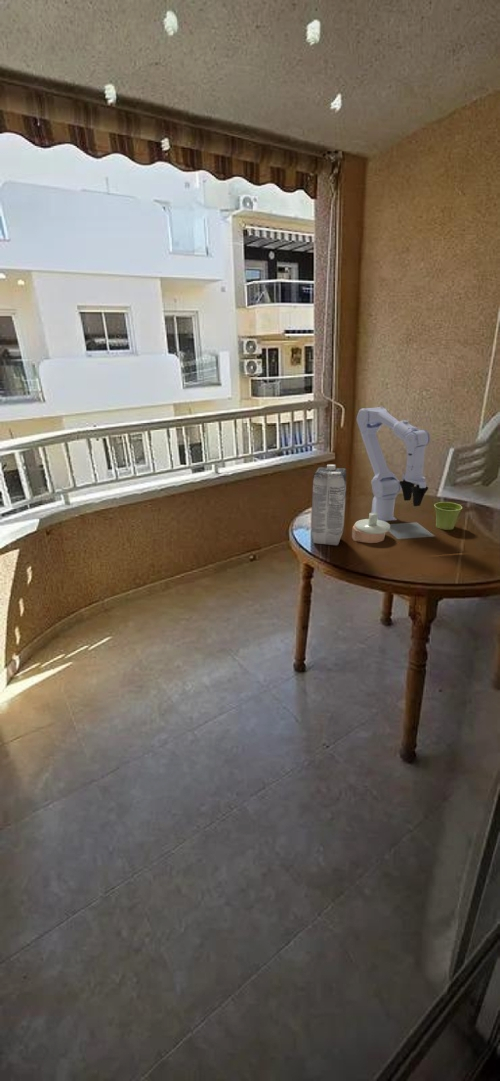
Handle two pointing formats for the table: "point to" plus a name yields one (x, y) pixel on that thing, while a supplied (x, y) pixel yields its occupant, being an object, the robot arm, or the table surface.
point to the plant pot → (446, 514)
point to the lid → (372, 525)
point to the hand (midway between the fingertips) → (411, 503)
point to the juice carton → (328, 505)
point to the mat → (409, 531)
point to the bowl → (366, 536)
